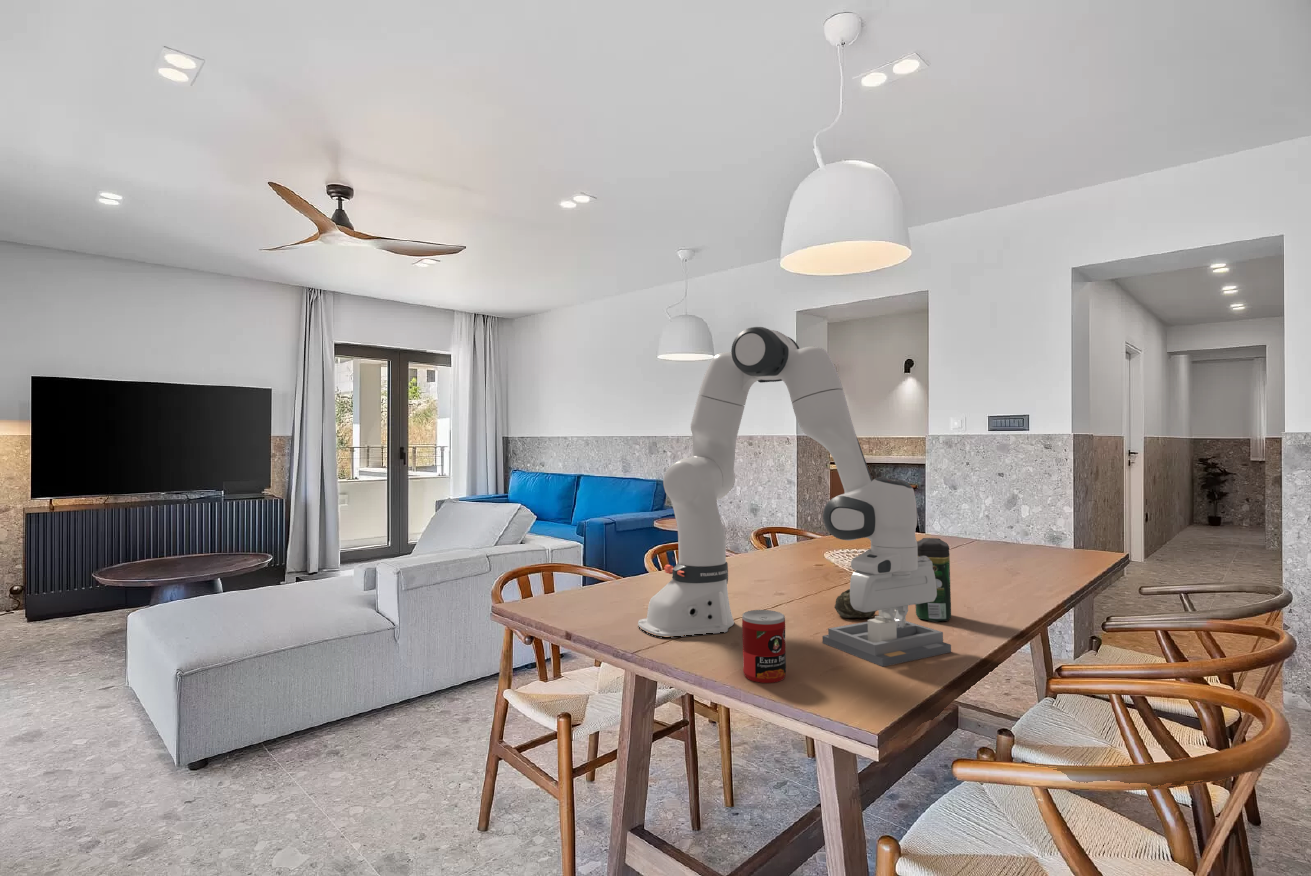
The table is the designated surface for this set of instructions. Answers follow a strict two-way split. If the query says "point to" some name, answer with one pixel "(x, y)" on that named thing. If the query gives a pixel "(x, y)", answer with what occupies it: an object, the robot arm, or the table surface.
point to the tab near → (881, 629)
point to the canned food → (764, 646)
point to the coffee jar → (941, 568)
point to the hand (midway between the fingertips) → (895, 628)
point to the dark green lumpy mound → (849, 607)
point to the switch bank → (888, 643)
